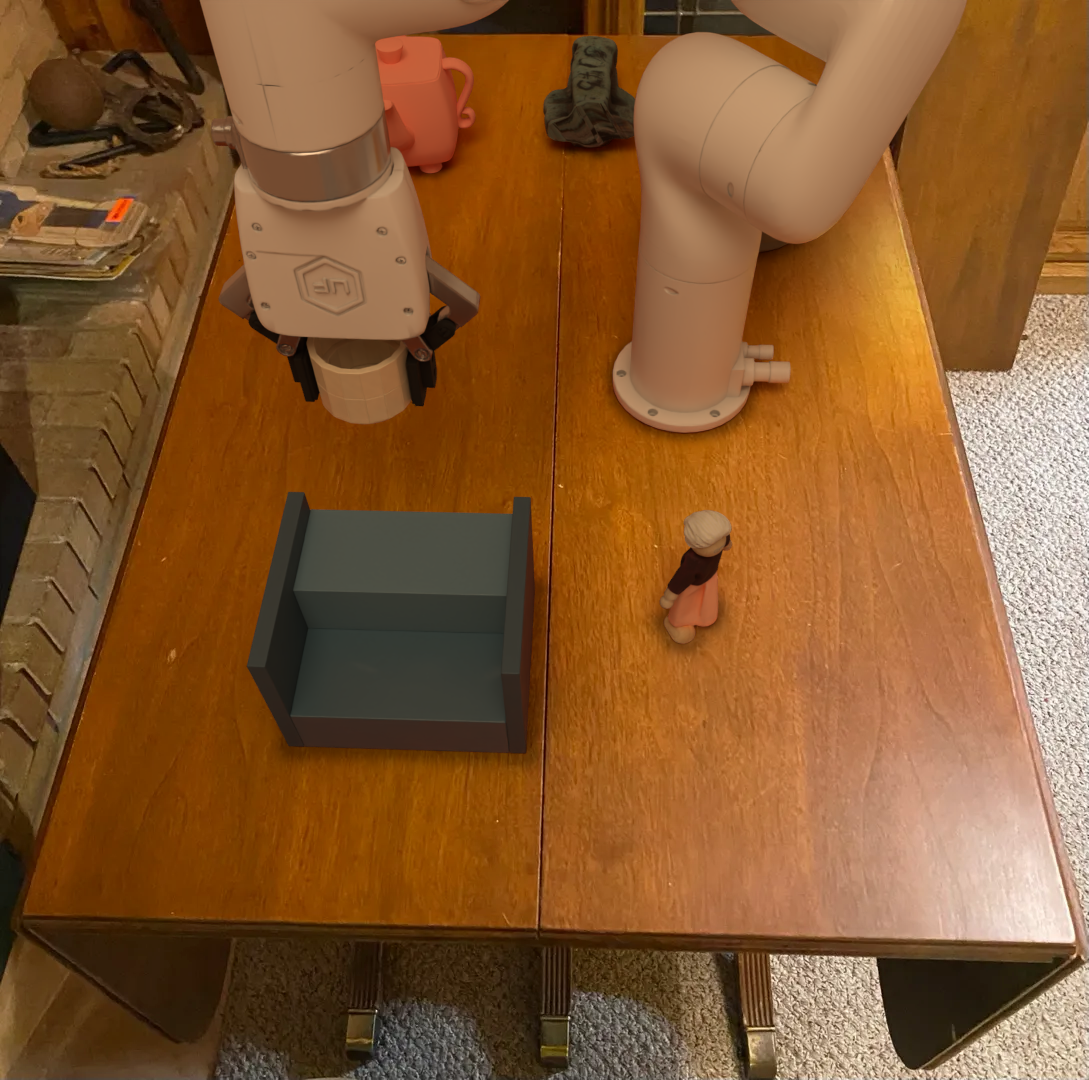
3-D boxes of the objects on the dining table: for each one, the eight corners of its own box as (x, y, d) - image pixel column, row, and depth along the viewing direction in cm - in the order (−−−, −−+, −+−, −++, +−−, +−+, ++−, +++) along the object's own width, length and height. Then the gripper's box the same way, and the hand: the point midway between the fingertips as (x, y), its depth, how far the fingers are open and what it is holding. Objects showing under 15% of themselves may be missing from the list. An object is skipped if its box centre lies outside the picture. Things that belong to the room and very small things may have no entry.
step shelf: (535, 589, 81) (530, 496, 71) (526, 753, 73) (519, 674, 63) (320, 584, 82) (287, 491, 72) (288, 746, 74) (246, 666, 64)
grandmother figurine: (691, 663, 77) (711, 569, 67) (647, 640, 78) (659, 544, 68) (736, 590, 81) (761, 490, 70) (693, 569, 82) (711, 468, 72)
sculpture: (670, 117, 112) (626, 68, 123) (640, 60, 107) (597, 14, 117) (579, 184, 115) (543, 130, 125) (545, 132, 110) (511, 81, 120)
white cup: (423, 362, 69) (415, 305, 65) (410, 431, 66) (400, 375, 62) (331, 358, 70) (317, 301, 66) (313, 427, 66) (297, 371, 62)
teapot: (398, 211, 110) (382, 102, 99) (306, 148, 117) (281, 40, 106) (500, 153, 116) (494, 44, 105) (407, 96, 123) (392, -12, 112)
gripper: (130, 182, 51) (225, 425, 65) (475, 193, 50) (493, 437, 65) (172, 99, 55) (253, 344, 70) (490, 107, 54) (504, 354, 69)
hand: (368, 387), depth 67 cm, fingers closed on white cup, 6 cm apart
